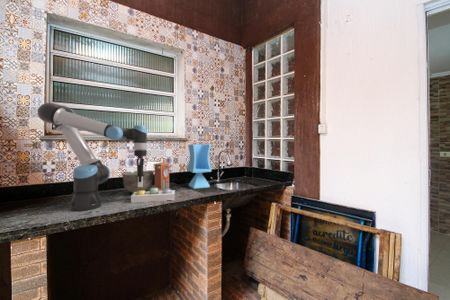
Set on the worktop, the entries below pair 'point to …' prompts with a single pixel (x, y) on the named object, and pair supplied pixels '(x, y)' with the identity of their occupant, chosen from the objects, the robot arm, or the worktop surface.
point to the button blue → (166, 191)
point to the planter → (199, 165)
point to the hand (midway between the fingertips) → (140, 186)
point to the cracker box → (162, 176)
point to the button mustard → (141, 192)
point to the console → (152, 197)
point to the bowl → (132, 181)
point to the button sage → (153, 190)
